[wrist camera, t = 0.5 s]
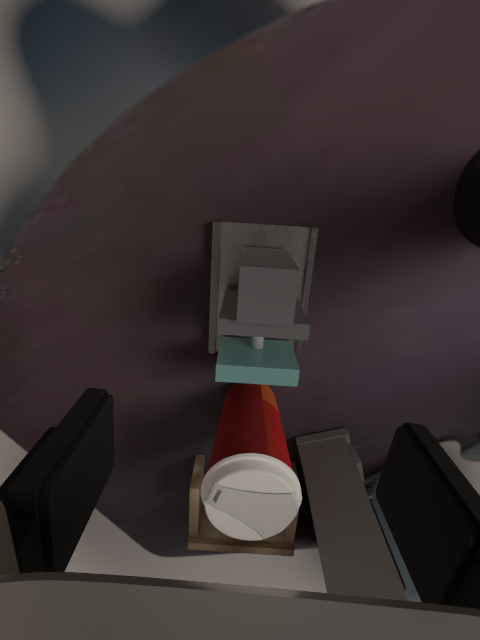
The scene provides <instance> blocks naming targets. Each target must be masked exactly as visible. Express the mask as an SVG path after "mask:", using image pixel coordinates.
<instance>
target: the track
mask: <svg viewBox="0 0 480 640" xmlns="http://www.w3.org/2000/svg"><path fill="white" fill-rule="evenodd" d="M318 230H319V229H318V228H317V227H302V226H287V225H272V224H257V223H241V222H226V221H213V232H212V263H211V293H210V323H209V353H211V354H215V351H219V347H220V341H221V337H236V338H251V336H237V335H221V334H218V319H219V315H220V310H221V306H222V302H223V298H224V294H225V290H238V288H239V272H240V261H241V252H242V247H258V248H273V249H286V250H287V251H288V253H289V254H290V256H291V257H292V259H293V260H294V262H295V263H296V265H297V266H298V268H299V269H300V275H299V283H298V291H297V298H298V300H299V302H300V304H301V306H302V308H303V310H304V312H305V315H306V317H307V310H308V303H309V295H310V288H311V281H312V273H313V266H314V259H315V251H316V244H317V237H318ZM264 339H267V340H282V341H291V342H292V345H293V348H294V352H295V355H296V359H301V354H302V347H303V340H298V339H282V338H267V337H264Z"/></svg>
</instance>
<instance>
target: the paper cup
mask: <svg viewBox="0 0 480 640" xmlns="http://www.w3.org/2000/svg"><path fill="white" fill-rule="evenodd" d="M201 498H202V502H203V504H204V506H205V511H206V514H207V516H208V518H209V520H210V521H211V523H212V524H213V525H214V526H215V527H216V528H217V529H218V530H219V531H221V532H222V533H224V534H226V535H228V536H230V537H233V538H236V539H240V540H251V541H255V540H263V539H266V538H269V537H271V536H274V535H276V534H278V533H280V532H281V531H283V530H284V529H285V528H286V527H287V526H288V525H289V524H290V523H291V522H292V520H293V519H294V518H295V516H296V514H297V512H298V508H299V506H300V505H301V501H302V494H301V487H300V483H299V480H298V478H297V476H296V474H295V473H294V472H293V470H292V466H291V461H290V457H289V453H288V449H287V444H286V440H285V436H284V431H283V427H282V423H281V419H280V415H279V411H278V407H277V403H276V399H275V396H274V393H273V391H272V390H271V388H270V387H269V386H268V385H264V384H249V383H234V384H233V385H232V386H231V387H230V388H229V390H228V391H227V393H226V396H225V399H224V403H223V408H222V412H221V416H220V421H219V425H218V430H217V434H216V438H215V442H214V446H213V450H212V454H211V459H210V464H209V469H208V472H207V473H206V475H205V477H204V478H203V481H202V484H201Z"/></svg>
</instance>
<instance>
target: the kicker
mask: <svg viewBox="0 0 480 640" xmlns="http://www.w3.org/2000/svg"><path fill="white" fill-rule="evenodd" d="M299 275H300V269H299V268H298V266H297V265H296V263H295V262H294V260H293V259H292V257H291V256H290V254H289V253H288V251H287V250H286V249H273V248H258V247H242V252H241V261H240V272H239V288H238V290H225V294H224V298H223V302H222V306H221V310H220V315H219V319H218V334H221V335H237V336H251V338H236V337H221V341H220V347H219V352H218V357H217V363H216V380H215V381H218V382H233V383H249V384H264V385H279V386H294V387H298V380H299V372H300V369H299V366H298V362H297V359H296V355H295V352H294V348H293V345H292V342H291V341H282V340H267V339H264V337H267V338H282V339H298V340H308V338H309V331H310V323H309V321H308V319H307V317H306V315H305V312H304V310H303V308H302V306H301V304H300V302H299V300H298V298H297V291H298V283H299Z"/></svg>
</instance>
